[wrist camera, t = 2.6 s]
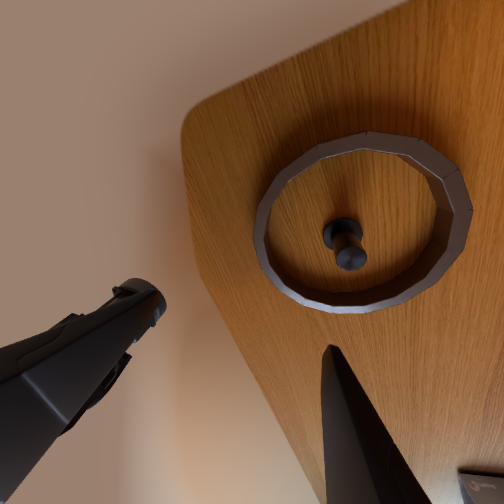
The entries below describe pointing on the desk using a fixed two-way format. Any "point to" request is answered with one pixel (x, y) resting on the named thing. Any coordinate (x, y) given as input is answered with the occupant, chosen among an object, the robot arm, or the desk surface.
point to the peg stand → (345, 243)
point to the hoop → (432, 258)
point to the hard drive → (481, 489)
